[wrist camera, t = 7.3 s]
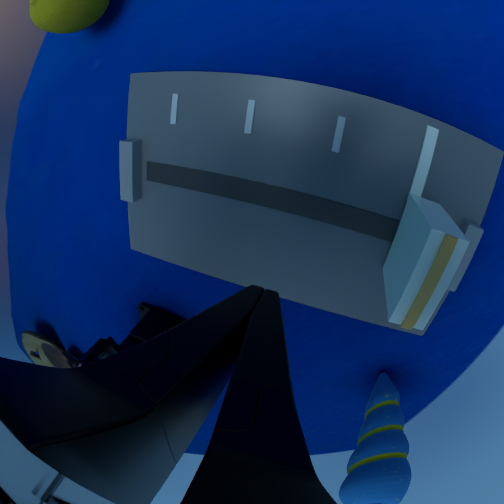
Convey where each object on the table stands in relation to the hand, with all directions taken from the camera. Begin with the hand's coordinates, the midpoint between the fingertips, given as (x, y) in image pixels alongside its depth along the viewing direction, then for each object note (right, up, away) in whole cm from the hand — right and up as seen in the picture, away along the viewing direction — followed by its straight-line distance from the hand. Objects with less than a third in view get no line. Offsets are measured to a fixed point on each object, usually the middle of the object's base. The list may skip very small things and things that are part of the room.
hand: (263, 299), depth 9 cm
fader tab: (+9, +2, +6) cm, 11 cm away
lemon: (-13, +22, +6) cm, 26 cm away
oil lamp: (-35, -23, +40) cm, 58 cm away
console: (+2, +5, +10) cm, 11 cm away
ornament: (+12, -10, +15) cm, 21 cm away
